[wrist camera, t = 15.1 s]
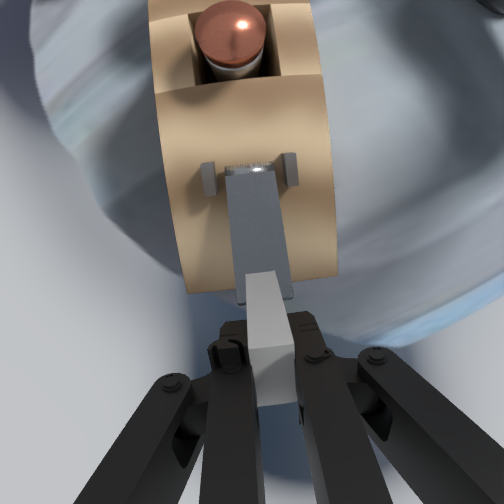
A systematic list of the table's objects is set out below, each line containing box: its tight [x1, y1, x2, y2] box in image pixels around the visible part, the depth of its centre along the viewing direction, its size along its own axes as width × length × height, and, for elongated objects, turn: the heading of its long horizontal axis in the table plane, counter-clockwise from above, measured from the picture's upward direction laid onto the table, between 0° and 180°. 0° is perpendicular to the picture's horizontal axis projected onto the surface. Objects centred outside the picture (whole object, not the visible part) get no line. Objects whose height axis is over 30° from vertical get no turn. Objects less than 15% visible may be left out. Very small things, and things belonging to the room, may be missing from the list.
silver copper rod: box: [195, 0, 266, 82], centre depth 21 cm, size 4×4×14 cm
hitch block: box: [148, 0, 338, 294], centre depth 25 cm, size 22×11×15 cm, turn 7°
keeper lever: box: [224, 161, 294, 306], centre depth 19 cm, size 9×3×1 cm
